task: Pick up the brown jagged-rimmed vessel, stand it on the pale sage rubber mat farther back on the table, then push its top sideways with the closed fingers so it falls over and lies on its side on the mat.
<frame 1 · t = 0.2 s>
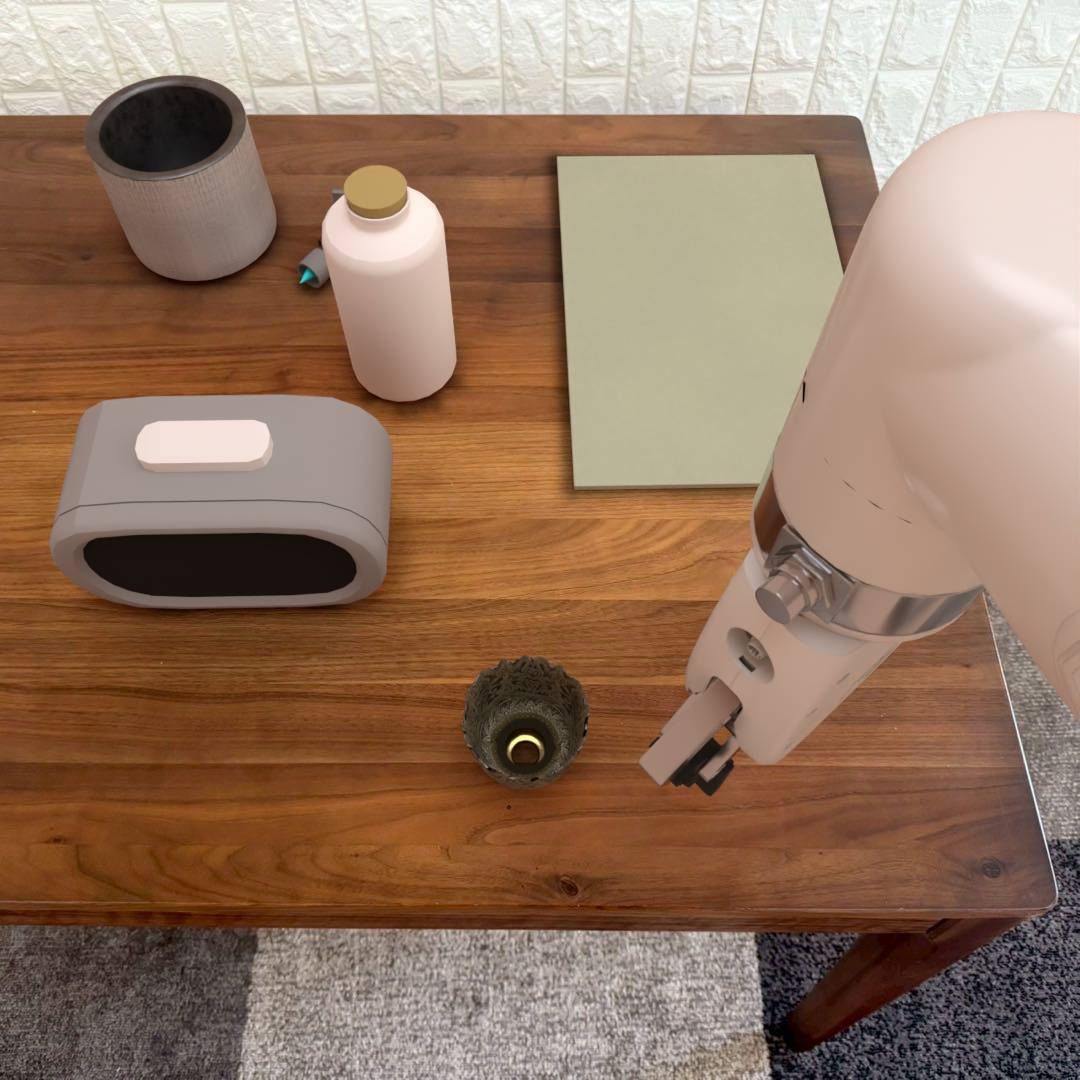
hand: (761, 699, 45), 18 cm above the table, tool pointing down, fingers open, 9 cm apart
potion bottle: (406, 367, 77), on the table
mat: (706, 306, 81), on the table
brown jagged-rimmed vessel: (525, 755, 62), on the table
toy gun: (376, 267, 83), on the table
planter: (207, 236, 84), on the table
alarm clock: (257, 556, 69), on the table
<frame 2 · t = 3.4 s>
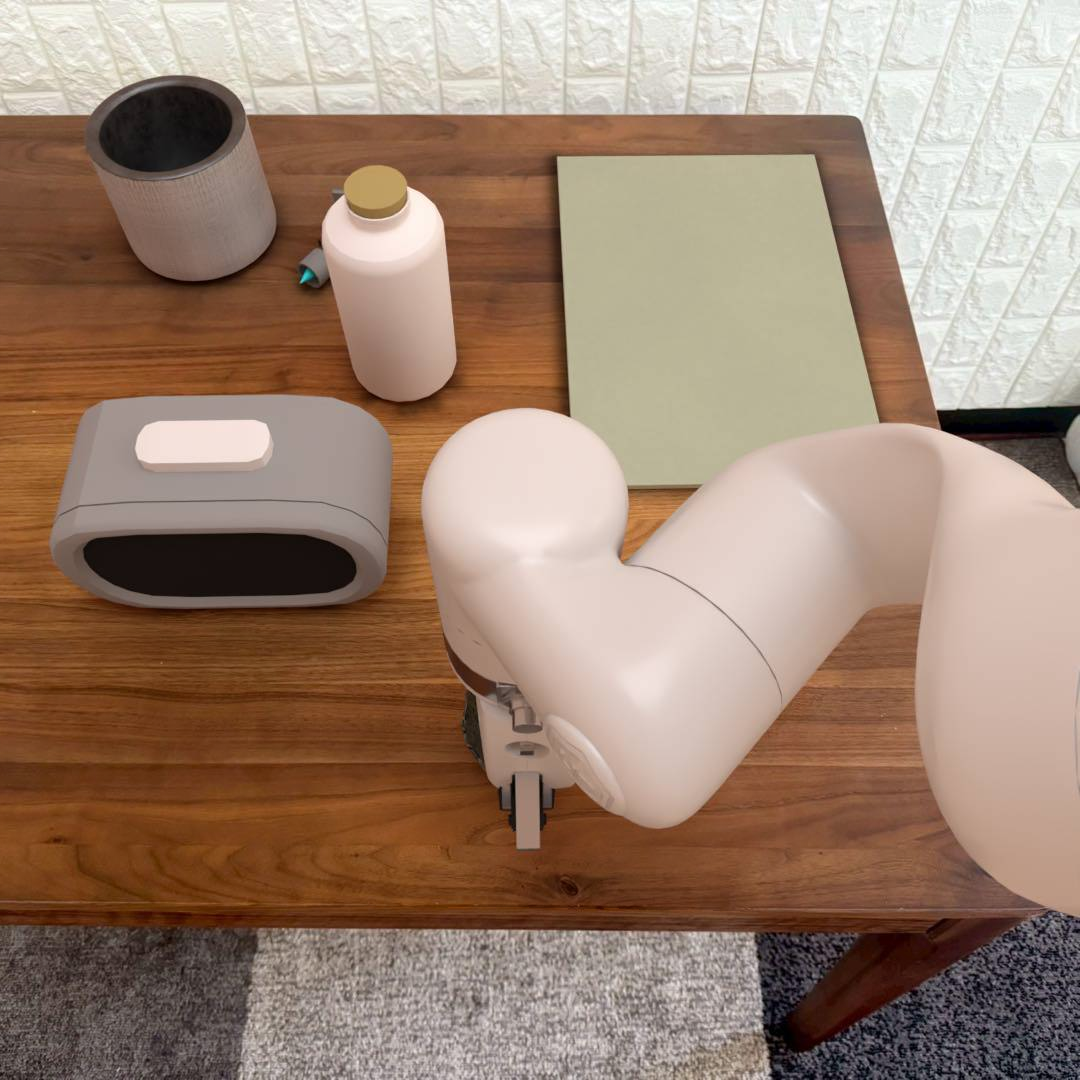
hand: (525, 738, 59), 3 cm above the table, tool pointing down, fingers closed on brown jagged-rimmed vessel, 7 cm apart
brown jagged-rimmed vessel: (525, 755, 62), on the table, touching gripper
everything else where it was.
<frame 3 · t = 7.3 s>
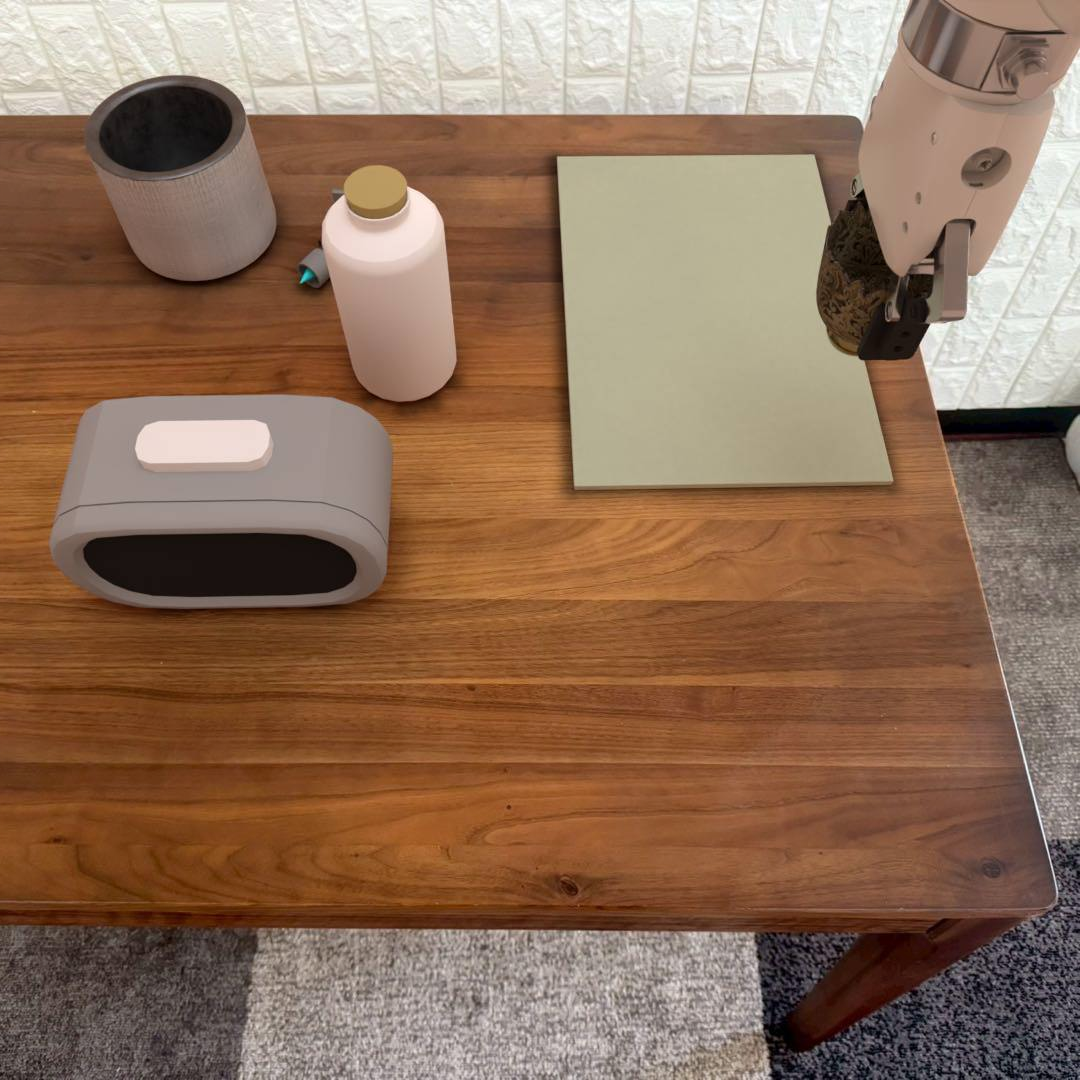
hand: (869, 301, 57), 18 cm above the table, tool pointing down, fingers closed on brown jagged-rimmed vessel, 7 cm apart
brown jagged-rimmed vessel: (851, 340, 60), point 14 cm above the table, touching gripper
everything else where it was.
when the fingers open (4 cm above the table, at t = 11.3 s): brown jagged-rimmed vessel stays where it is, resting on mat.
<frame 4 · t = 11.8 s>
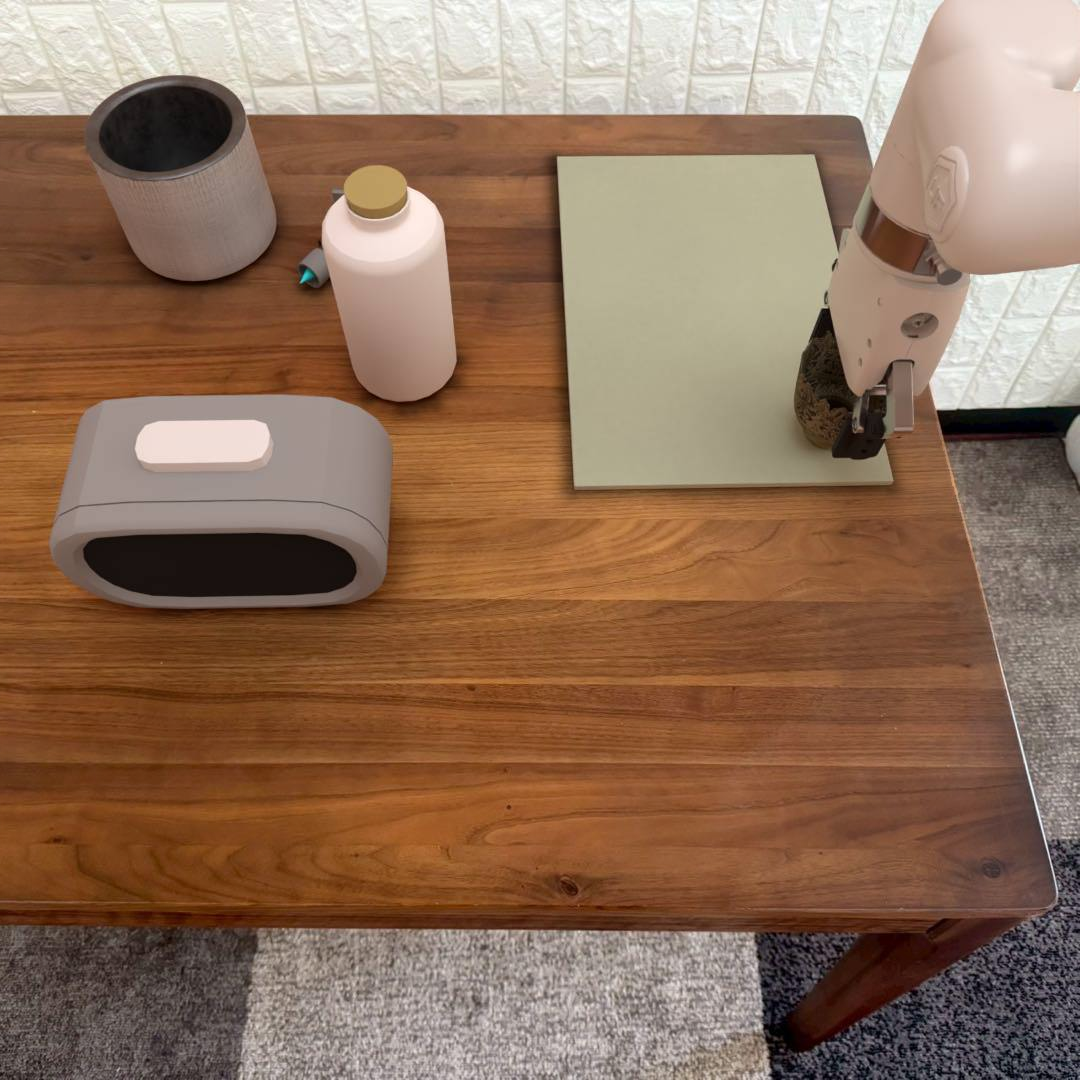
hand: (840, 399, 70), 5 cm above the table, tool pointing down, fingers open, 9 cm apart
brown jagged-rimmed vessel: (823, 435, 74), resting on mat
everything else where it was.
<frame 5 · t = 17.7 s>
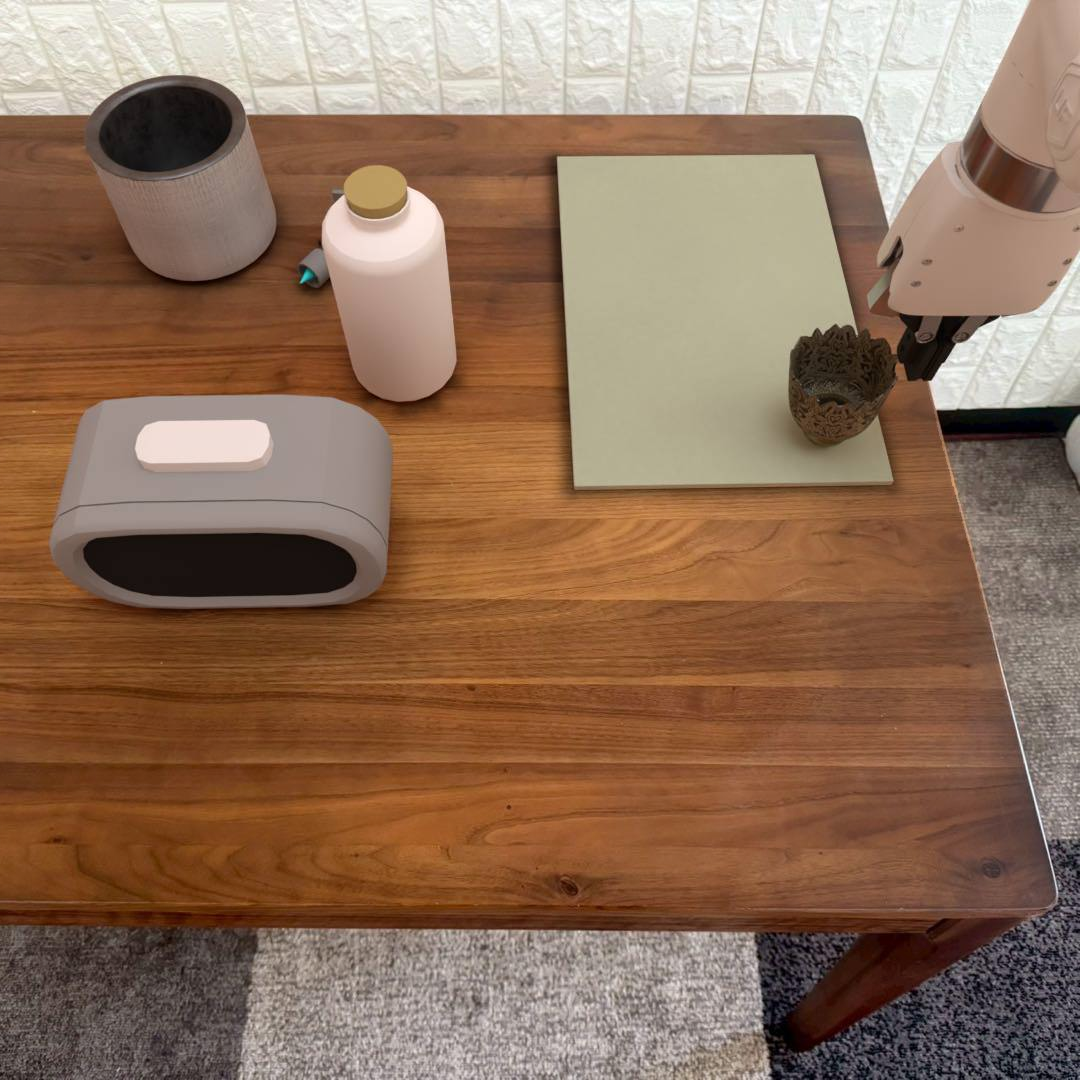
hand: (914, 364, 68), 8 cm above the table, tool pointing down, fingers closed
brown jagged-rimmed vessel: (824, 433, 74), point 1 cm above the table, touching gripper, mat
everything else where it was.
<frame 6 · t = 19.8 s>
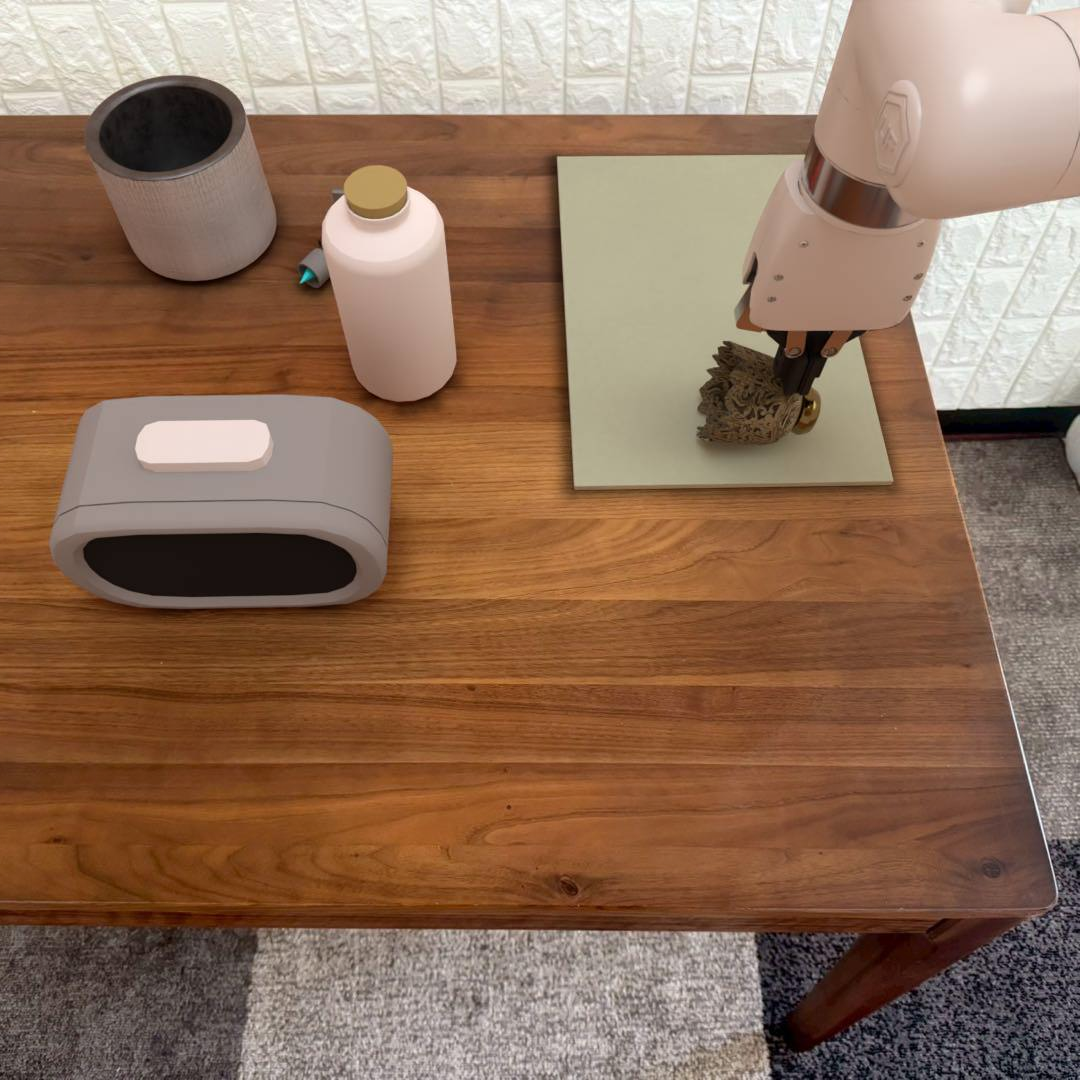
hand: (792, 379, 68), 7 cm above the table, tool pointing down, fingers closed
brown jagged-rimmed vessel: (815, 413, 72), point 3 cm above the table, touching gripper, mat
everything else where it was.
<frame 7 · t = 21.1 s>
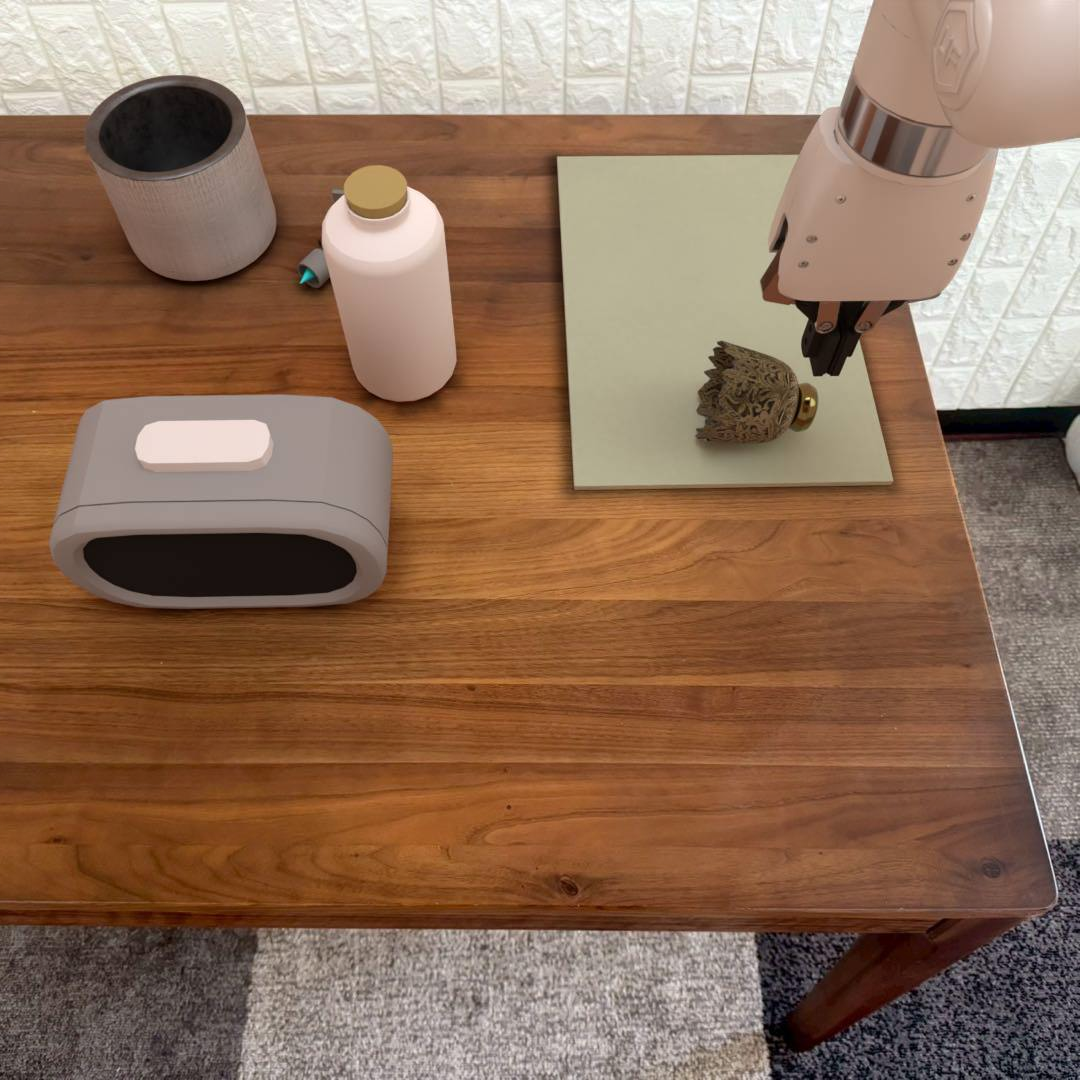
hand: (821, 359, 63), 12 cm above the table, tool pointing down, fingers closed
brown jagged-rimmed vessel: (814, 409, 71), point 3 cm above the table, touching mat
everything else where it was.
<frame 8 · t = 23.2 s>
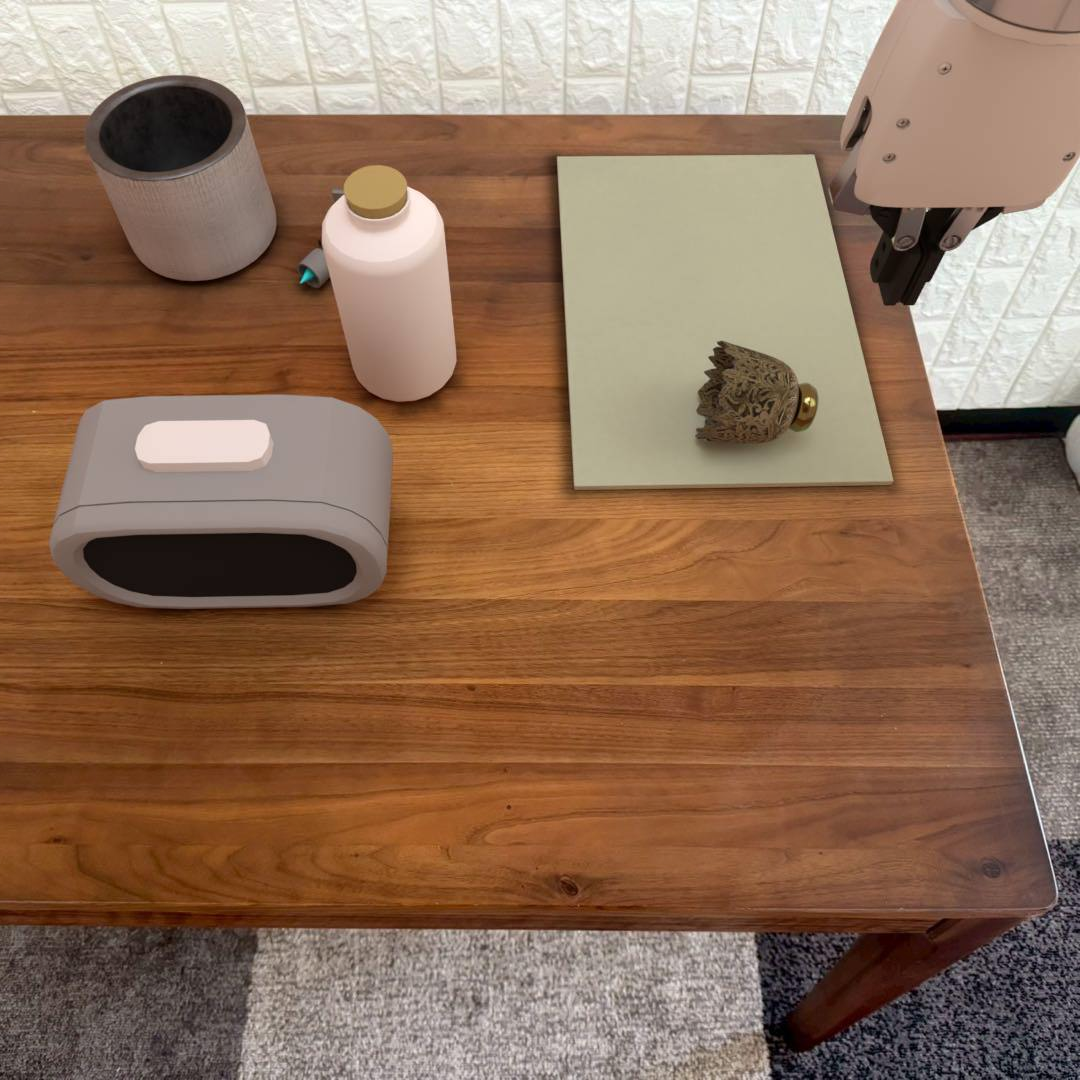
hand: (893, 286, 54), 21 cm above the table, tool pointing down, fingers closed
nothing on the table moved.
at the end: brown jagged-rimmed vessel tilted 83°; brown jagged-rimmed vessel inside the target area on the mat (14.7 cm from its centre), point 3.4 cm above the mat's base; the gripper is holding nothing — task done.
